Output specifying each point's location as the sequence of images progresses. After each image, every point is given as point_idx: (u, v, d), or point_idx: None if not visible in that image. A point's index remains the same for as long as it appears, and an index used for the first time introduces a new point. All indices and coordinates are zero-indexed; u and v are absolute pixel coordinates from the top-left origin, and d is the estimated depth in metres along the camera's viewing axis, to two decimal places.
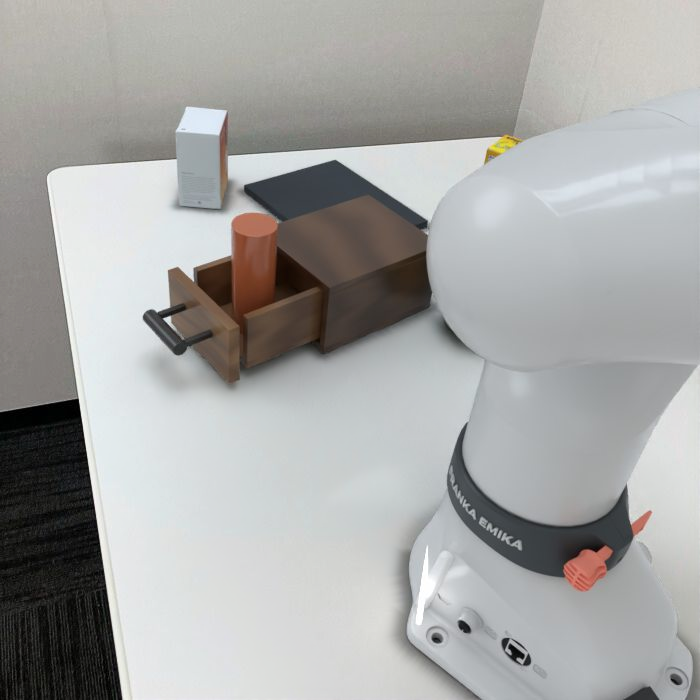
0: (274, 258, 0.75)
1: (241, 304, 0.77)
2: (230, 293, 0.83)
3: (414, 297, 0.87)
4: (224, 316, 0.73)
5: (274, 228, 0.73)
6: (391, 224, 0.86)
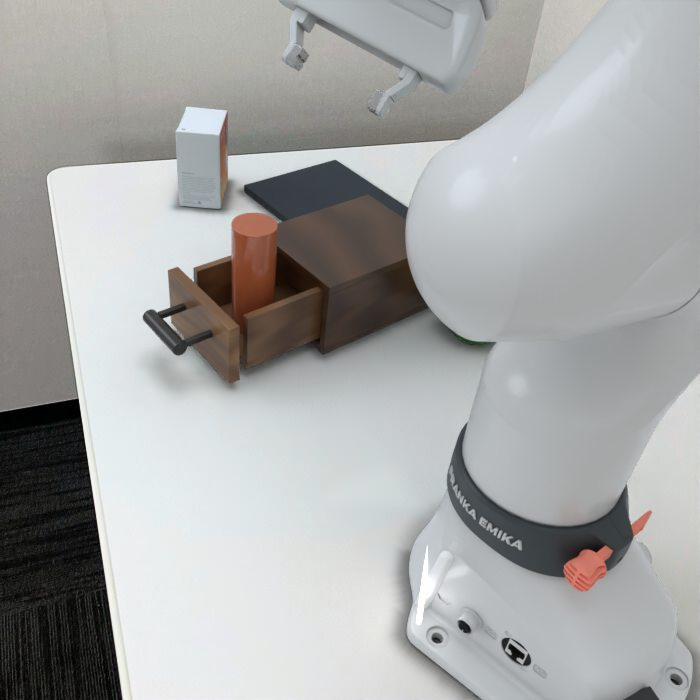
0: (274, 258, 0.75)
1: (241, 304, 0.77)
2: (230, 293, 0.83)
3: (414, 297, 0.87)
4: (224, 316, 0.73)
5: (274, 228, 0.73)
6: (391, 224, 0.86)
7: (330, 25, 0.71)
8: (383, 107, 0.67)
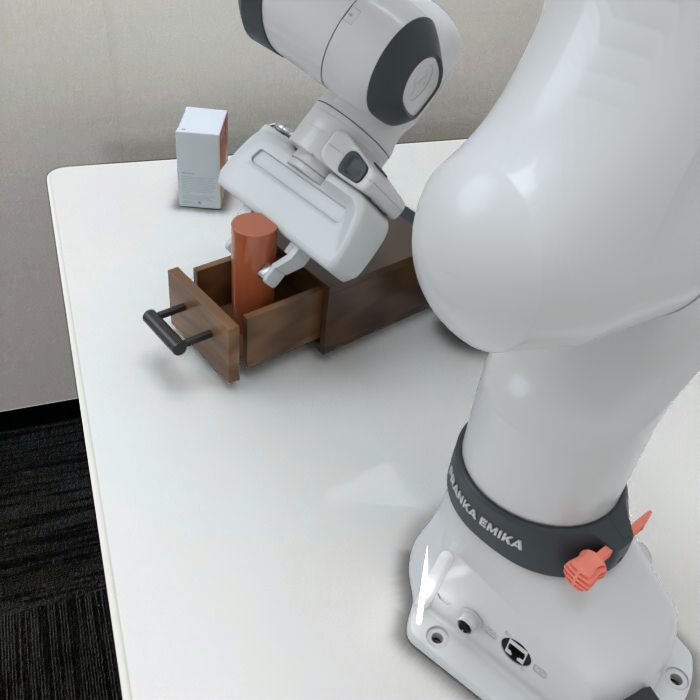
0: (274, 258, 0.75)
1: (241, 304, 0.77)
2: (230, 293, 0.83)
3: (414, 297, 0.87)
4: (224, 316, 0.73)
5: (274, 228, 0.73)
6: (391, 224, 0.86)
7: None
8: (269, 277, 0.74)
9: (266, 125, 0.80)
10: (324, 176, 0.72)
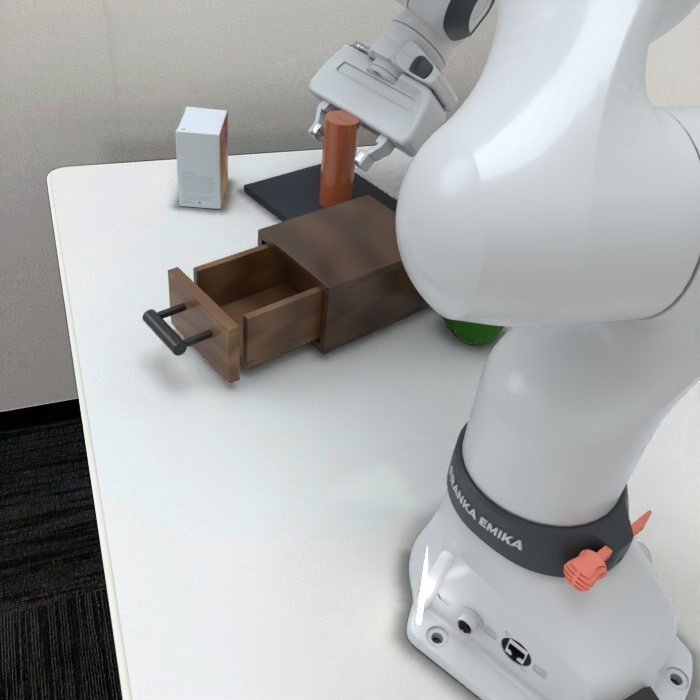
0: (356, 145, 0.98)
1: (329, 183, 1.00)
2: (230, 293, 0.83)
3: (414, 297, 0.87)
4: (224, 316, 0.73)
5: (358, 120, 0.96)
6: (391, 224, 0.86)
7: None
8: (363, 162, 0.96)
9: (346, 45, 1.03)
10: (397, 77, 0.95)
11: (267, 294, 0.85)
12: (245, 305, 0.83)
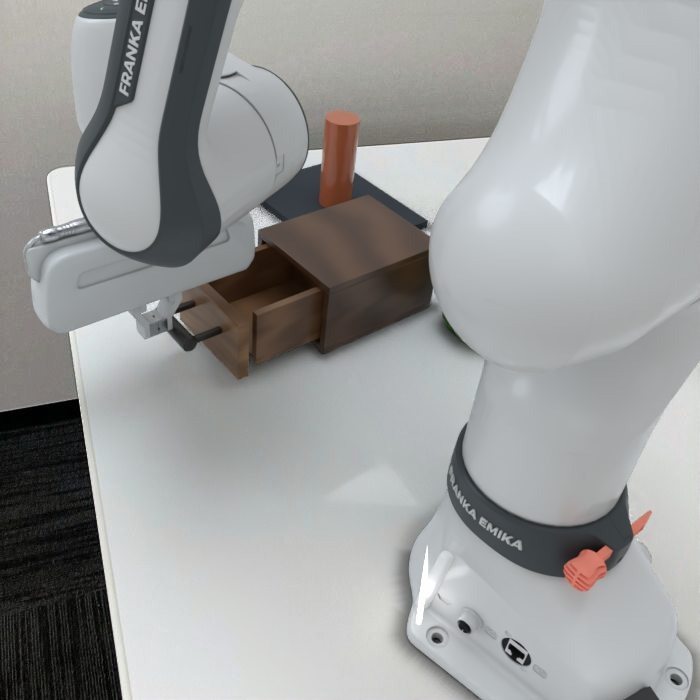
0: (356, 145, 0.98)
1: (329, 183, 1.00)
2: (238, 290, 0.83)
3: (414, 297, 0.87)
4: (234, 312, 0.73)
5: (358, 120, 0.96)
6: (391, 224, 0.86)
7: None
8: (171, 324, 0.73)
9: (31, 251, 0.60)
10: None
11: (275, 291, 0.86)
12: (253, 302, 0.84)
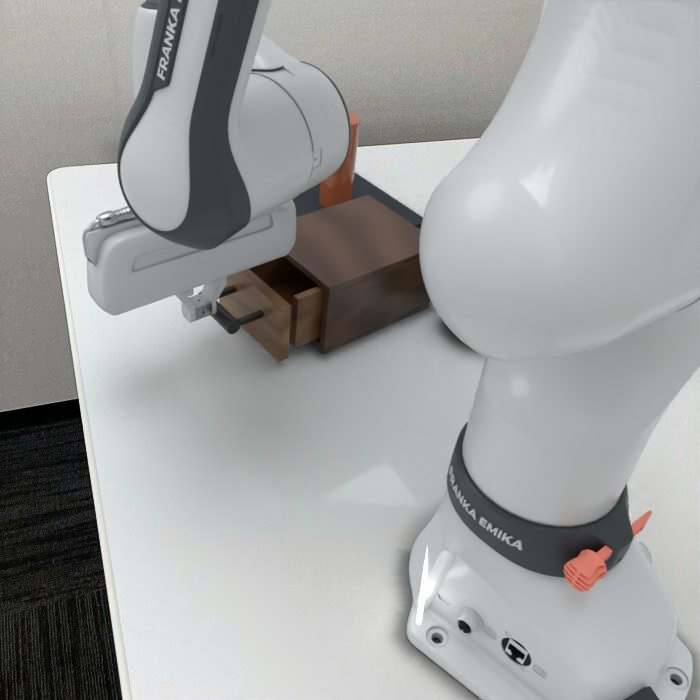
0: (356, 145, 0.98)
1: (329, 183, 1.00)
2: (275, 277, 0.86)
3: (414, 297, 0.87)
4: (276, 296, 0.76)
5: (358, 120, 0.96)
6: (391, 224, 0.86)
7: None
8: None
9: (90, 234, 0.62)
10: None
11: None
12: (290, 288, 0.87)
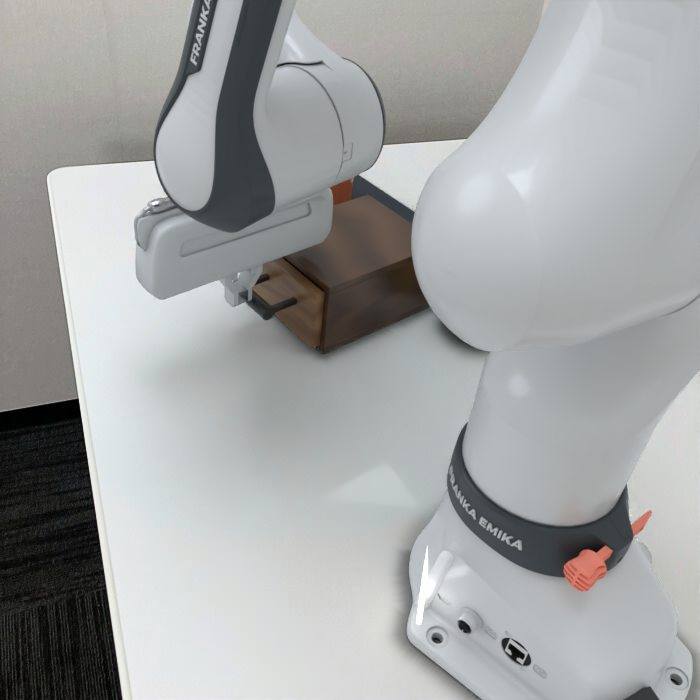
0: None
1: None
2: None
3: (414, 297, 0.87)
4: (310, 283, 0.78)
5: None
6: (391, 224, 0.86)
7: None
8: None
9: (142, 220, 0.65)
10: None
11: None
12: None
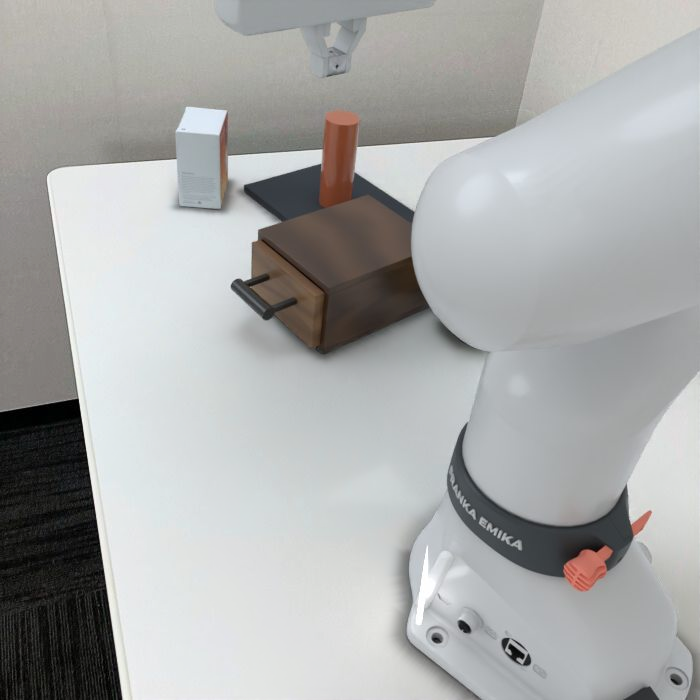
0: (356, 145, 0.98)
1: (329, 183, 1.00)
2: None
3: (414, 297, 0.87)
4: (310, 283, 0.78)
5: (358, 120, 0.96)
6: (391, 224, 0.86)
7: None
8: (349, 65, 0.64)
9: None
10: None
11: None
12: None
